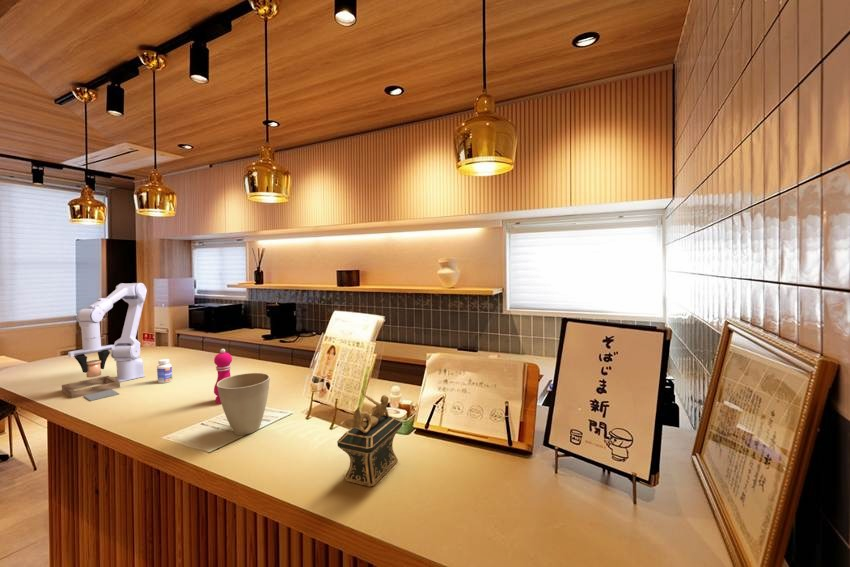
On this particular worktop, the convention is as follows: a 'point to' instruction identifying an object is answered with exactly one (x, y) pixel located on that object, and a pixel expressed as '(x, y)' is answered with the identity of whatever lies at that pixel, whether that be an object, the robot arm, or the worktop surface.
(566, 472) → the worktop surface
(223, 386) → the plant pot
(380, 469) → the decorative box
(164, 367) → the pill bottle
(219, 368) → the pepper mill
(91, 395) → the slate mat
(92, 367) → the terracotta pot
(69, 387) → the frame
